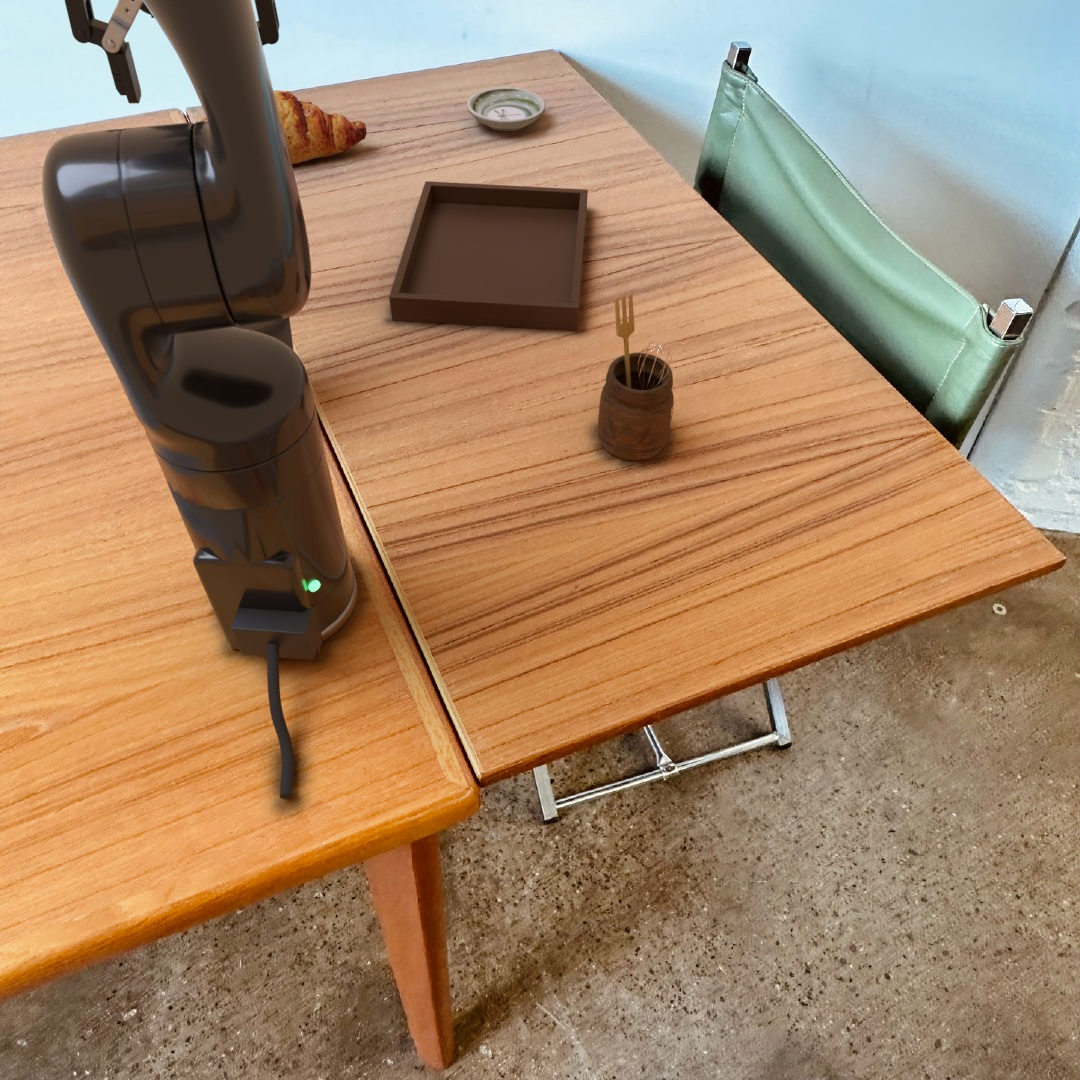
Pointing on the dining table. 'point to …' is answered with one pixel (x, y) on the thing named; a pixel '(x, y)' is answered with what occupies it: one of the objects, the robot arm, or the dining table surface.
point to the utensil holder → (635, 398)
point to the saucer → (506, 107)
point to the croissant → (314, 129)
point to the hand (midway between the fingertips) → (194, 99)
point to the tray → (493, 257)
